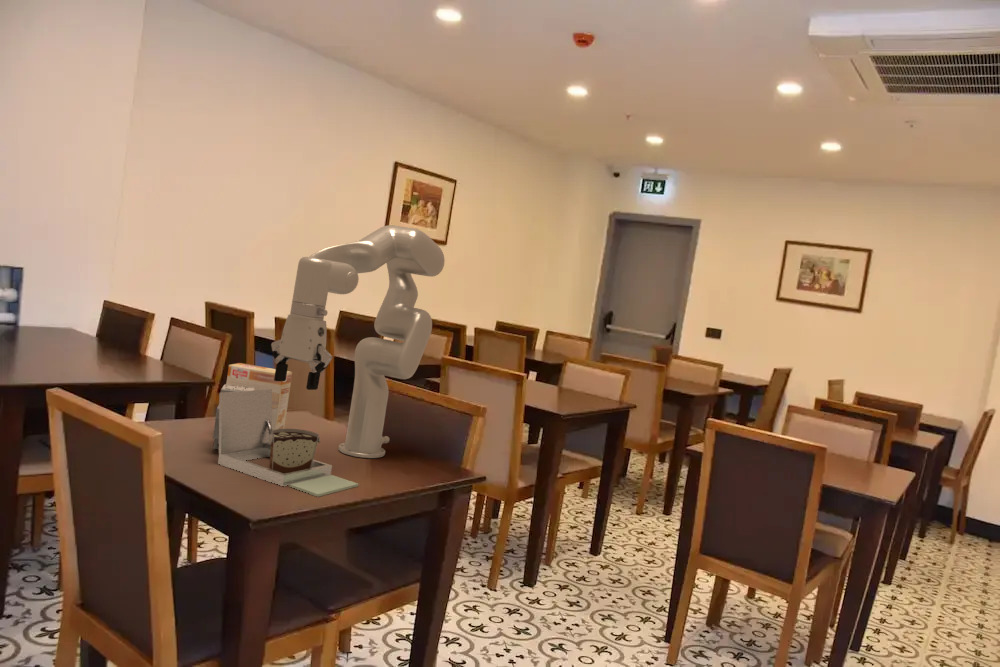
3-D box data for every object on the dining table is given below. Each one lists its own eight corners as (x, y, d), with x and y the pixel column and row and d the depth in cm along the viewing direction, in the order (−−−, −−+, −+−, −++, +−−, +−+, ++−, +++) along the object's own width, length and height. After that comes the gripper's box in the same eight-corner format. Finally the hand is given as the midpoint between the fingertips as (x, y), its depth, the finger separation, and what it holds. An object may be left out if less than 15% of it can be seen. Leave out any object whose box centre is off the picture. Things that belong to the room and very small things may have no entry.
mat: (331, 477, 177) (331, 474, 177) (358, 486, 173) (358, 483, 173) (289, 487, 164) (289, 484, 164) (317, 496, 161) (318, 494, 161)
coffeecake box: (283, 442, 202) (293, 371, 201) (272, 447, 195) (282, 374, 194) (230, 432, 204) (240, 362, 202) (217, 437, 196) (228, 364, 195)
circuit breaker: (209, 455, 179) (218, 394, 178) (216, 441, 192) (224, 384, 191) (242, 458, 181) (251, 397, 180) (247, 444, 194) (255, 387, 193)
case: (260, 452, 188) (269, 388, 187) (330, 475, 178) (340, 408, 177) (209, 461, 174) (219, 392, 173) (282, 486, 164) (293, 413, 163)
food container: (302, 468, 181) (308, 427, 180) (314, 475, 176) (321, 434, 176) (253, 470, 172) (259, 428, 172) (265, 478, 168) (271, 434, 167)
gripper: (347, 318, 171) (335, 392, 172) (290, 307, 179) (278, 377, 179) (326, 316, 165) (313, 393, 165) (267, 304, 172) (255, 378, 173)
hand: (295, 385), depth 172 cm, fingers open, 9 cm apart
